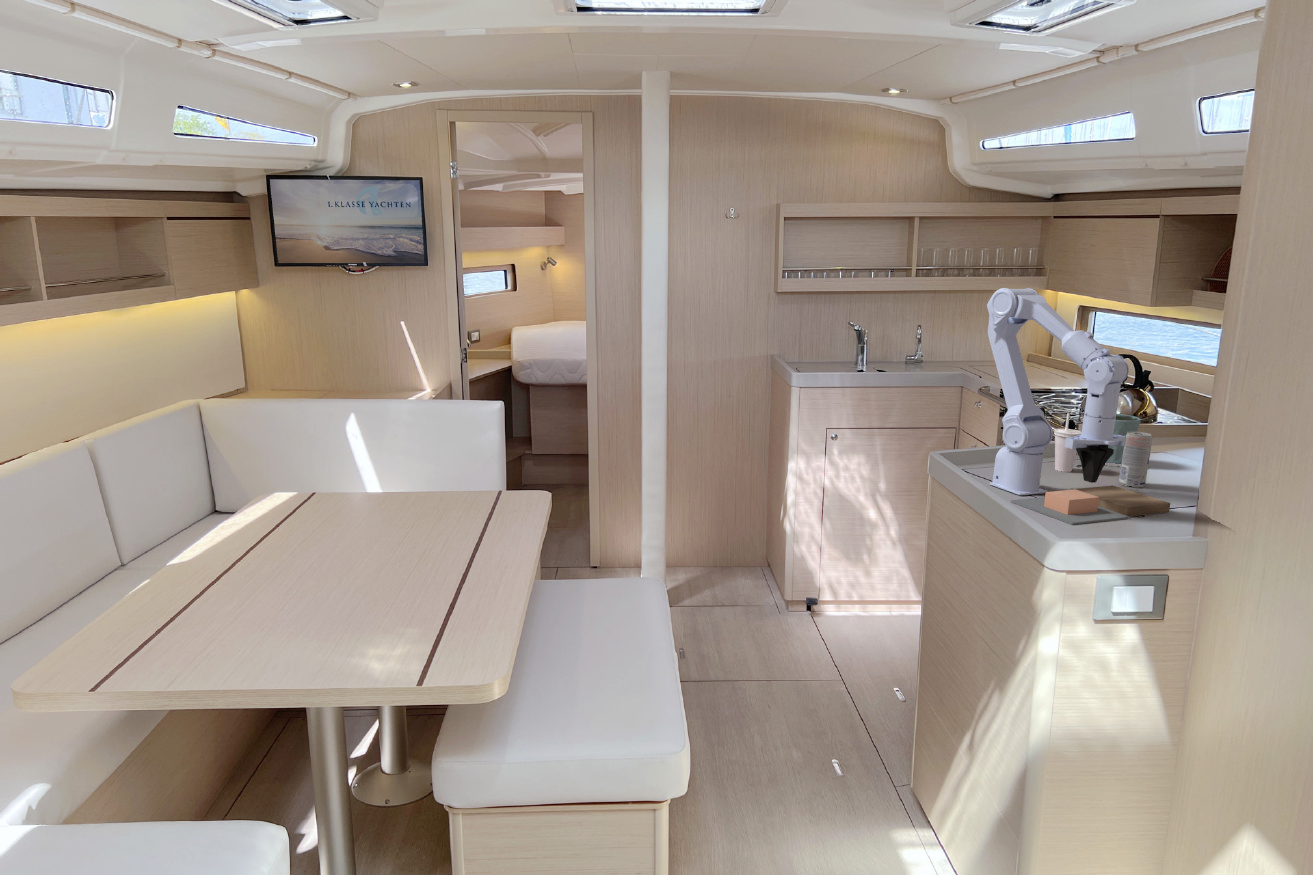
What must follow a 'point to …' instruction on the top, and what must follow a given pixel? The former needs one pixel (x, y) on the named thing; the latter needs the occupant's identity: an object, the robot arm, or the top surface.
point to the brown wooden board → (1126, 501)
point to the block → (1071, 501)
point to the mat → (1072, 519)
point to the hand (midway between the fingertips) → (1089, 481)
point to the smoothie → (1064, 448)
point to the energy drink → (1135, 459)
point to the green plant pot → (1122, 434)
